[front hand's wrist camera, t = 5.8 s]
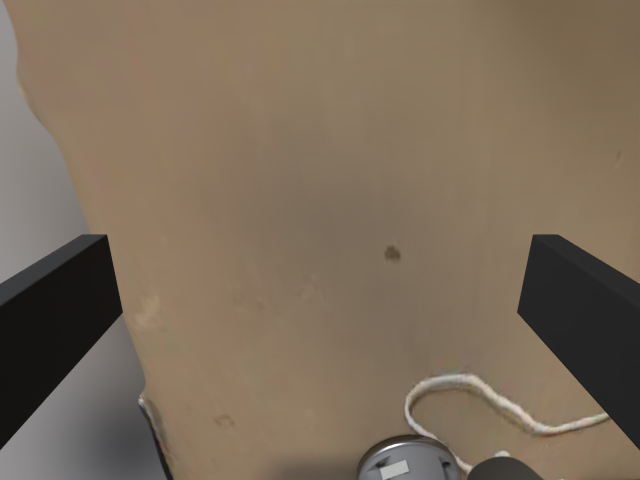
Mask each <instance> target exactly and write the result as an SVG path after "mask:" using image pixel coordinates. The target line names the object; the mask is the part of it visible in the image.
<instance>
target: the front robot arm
mask: <svg viewBox="0 0 640 480" xmlns="http://www.w3.org/2000/svg"><path fill="white" fill-rule="evenodd" d="M122 313H123V310H122V306H121V301H120V296H119V291H118V286H117V281H116V276H115V271H114V266H113V262H112V257H111V252H110V247H109V242H108V237H107V235H81V236H79V237H77V238H76V239H74V240H72V241H71V242H69V243H67V244H66V245H64V246H62V247H61V248H59V249H57V250H56V251H54V252H52V253H51V254H49V255H48V256H46V257H44V258H42V259H41V260H39V261H37V262H36V263H34V264H32V265H31V266H29V267H28V268H26V269H24V270H23V271H21V272H19V273H18V274H16V275H14V276H13V277H11V278H9V279H8V280H6V281H4V282H3V283H1V284H0V450H1V449H2V448H3V446H4V445H5V444H6V443H7V442H8V441H9V440H10V439H11V437H12V436H13V435H14V434H15V433H16V432H17V431H18V430H19V429H20V427H21V426H22V425H23V424H24V423H25V422H26V421H27V420H28V418H29V417H30V416H31V415H32V414H33V413H34V412H35V411H36V409H37V408H38V407H39V406H40V405H41V404H42V403H43V402H44V400H45V399H46V398H47V397H48V396H49V395H50V394H51V393H52V391H53V390H54V389H55V388H56V387H57V386H58V385H59V384H60V382H61V381H62V380H63V379H64V378H65V377H66V376H67V374H68V373H69V372H70V371H71V370H72V369H73V368H74V367H75V366H76V364H77V363H78V362H79V361H80V360H81V359H82V358H83V357H84V356H85V354H86V353H87V352H88V351H89V350H90V349H91V348H92V347H93V345H94V344H95V343H96V342H97V341H98V340H99V339H100V338H101V336H102V335H103V334H104V333H105V332H106V331H107V330H108V328H109V327H110V326H111V325H112V324H113V323H114V322H115V321H116V320H117V318H118V317H119V316H120V315H121V314H122ZM517 313H518V314H519V315H520V316H521V317H522V318H523V320H524V321H525V322H526V323H527V324H528V325H529V326H530V327H531V329H532V330H533V331H534V332H535V333H536V334H537V335H538V336H539V338H540V339H541V340H542V341H543V342H544V343H545V344H546V345H547V347H548V348H549V349H550V350H551V351H552V352H553V353H554V354H555V356H556V357H557V358H558V359H559V360H560V361H561V362H562V363H563V364H564V366H565V367H566V368H567V369H568V370H569V371H570V372H571V373H572V375H573V376H574V377H575V378H576V379H577V380H578V381H579V382H580V384H581V385H582V386H583V387H584V388H585V389H586V390H587V391H588V393H589V394H590V395H591V396H592V397H593V398H594V399H595V400H596V402H597V403H598V404H599V405H600V406H601V407H602V408H603V409H604V411H605V412H606V413H607V414H608V415H609V416H610V417H611V418H612V420H613V421H614V422H615V423H616V424H617V425H618V426H619V427H620V429H621V430H622V431H623V432H624V433H625V434H626V435H627V436H628V438H629V439H630V440H631V441H632V442H633V443H634V444H635V445H636V447H637V448H638V449H639V450H640V284H639V283H637V282H636V281H634V280H632V279H631V278H629V277H627V276H626V275H624V274H622V273H621V272H619V271H617V270H616V269H614V268H613V267H611V266H609V265H608V264H606V263H604V262H603V261H601V260H599V259H598V258H596V257H594V256H593V255H591V254H589V253H588V252H586V251H584V250H583V249H581V248H579V247H578V246H576V245H574V244H573V243H571V242H569V241H568V240H566V239H564V238H563V237H561V236H559V235H533V237H532V242H531V247H530V252H529V257H528V262H527V266H526V271H525V276H524V281H523V286H522V291H521V296H520V301H519V306H518V310H517ZM357 479H358V480H461V473H460V470H459V467H458V465H457V462H456V459H455V457H454V455H453V454H452V452H451V451H450V450H449V449H448V448H447V447H446V446H444V445H443V444H442V443H440V442H438V441H436V440H433V439H431V438H427V437H423V436H400V437H395V438H391V439H388V440H385V441H383V442H381V443H379V444H377V445H376V446H374V447H373V448H372V449H370V450H369V451H368V452H367V453H366V454H365V455H364V457H363V458H362V460H361V462H360V464H359V466H358V471H357Z"/></svg>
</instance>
